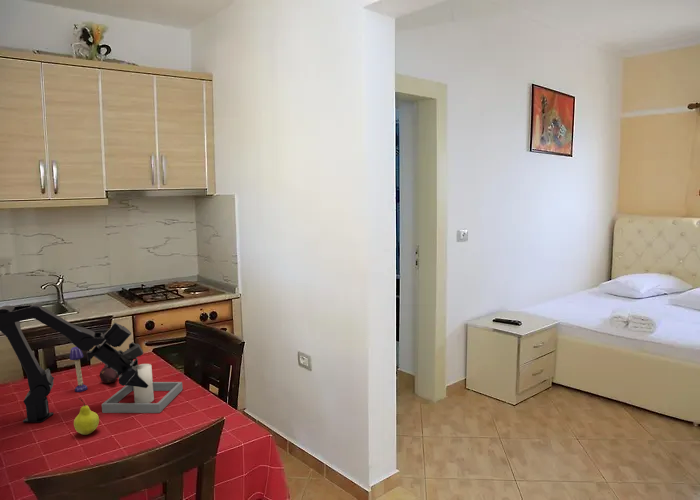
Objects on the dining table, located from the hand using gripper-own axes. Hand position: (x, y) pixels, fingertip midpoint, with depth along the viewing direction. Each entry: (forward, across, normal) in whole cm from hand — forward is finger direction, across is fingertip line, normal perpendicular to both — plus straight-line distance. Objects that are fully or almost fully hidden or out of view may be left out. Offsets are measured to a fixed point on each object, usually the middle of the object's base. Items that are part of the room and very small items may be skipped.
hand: (147, 382), depth 185 cm
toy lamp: (-12, +22, +22) cm, 33 cm away
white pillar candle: (+4, 0, +6) cm, 7 cm away
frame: (+4, 0, +6) cm, 7 cm away
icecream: (-5, +26, +14) cm, 30 cm away
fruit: (-8, -19, +18) cm, 27 cm away
